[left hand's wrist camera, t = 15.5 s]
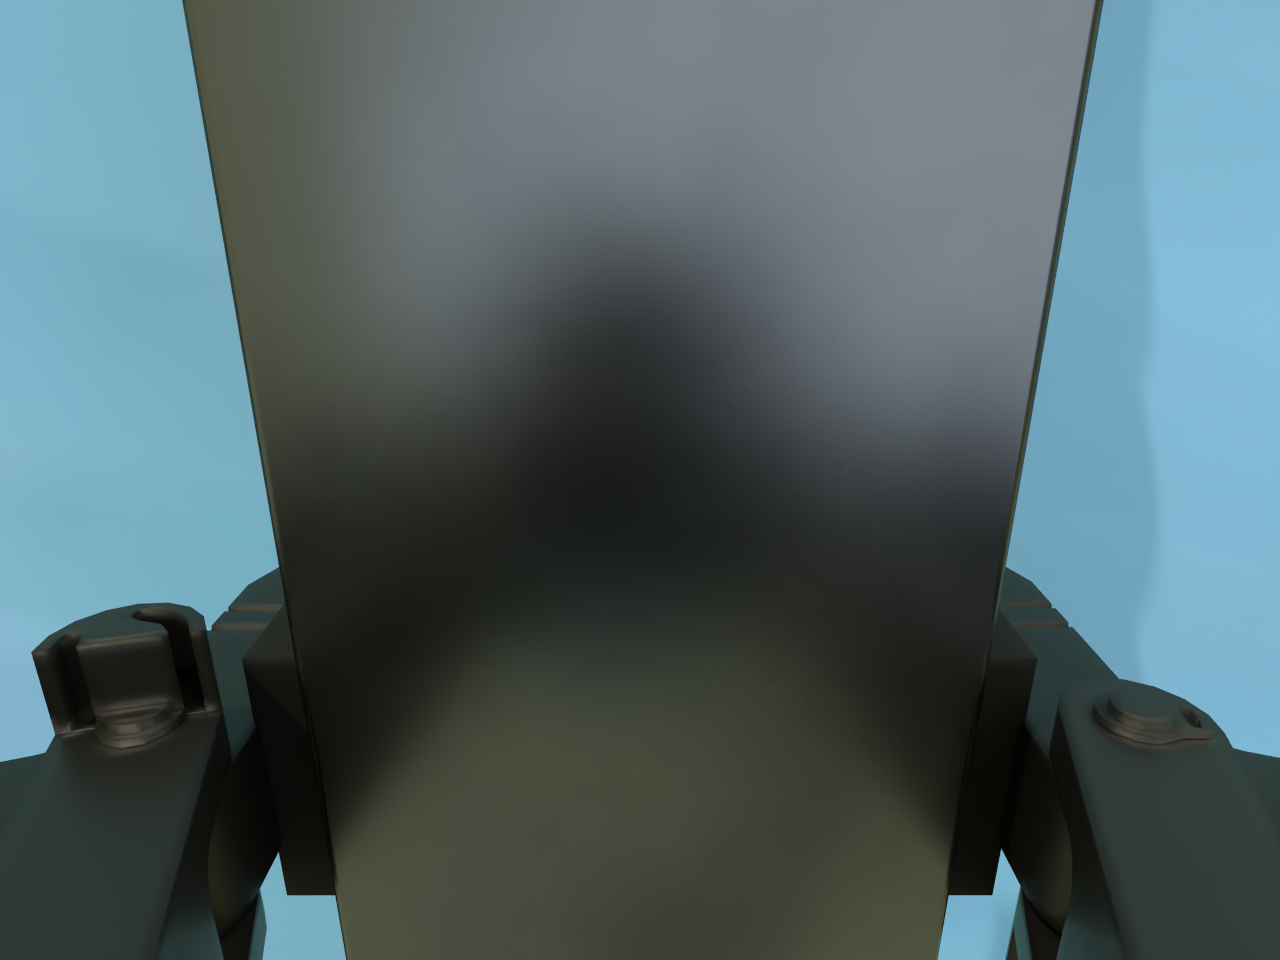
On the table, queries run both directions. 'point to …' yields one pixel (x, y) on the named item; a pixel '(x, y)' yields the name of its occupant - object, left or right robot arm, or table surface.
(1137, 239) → the table surface
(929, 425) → the bar
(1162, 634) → the table surface
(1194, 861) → the left robot arm
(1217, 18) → the table surface
